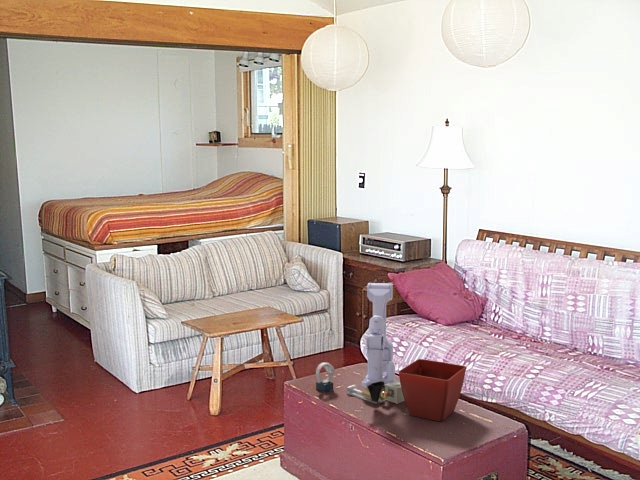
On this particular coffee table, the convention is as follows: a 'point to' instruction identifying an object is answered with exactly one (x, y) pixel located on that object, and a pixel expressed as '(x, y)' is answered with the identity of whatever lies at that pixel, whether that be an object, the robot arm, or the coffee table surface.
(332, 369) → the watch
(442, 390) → the plant pot
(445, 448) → the coffee table surface
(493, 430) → the coffee table surface
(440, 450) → the coffee table surface
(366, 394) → the carriage
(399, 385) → the cabinet
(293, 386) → the coffee table surface
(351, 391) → the rail
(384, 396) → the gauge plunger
